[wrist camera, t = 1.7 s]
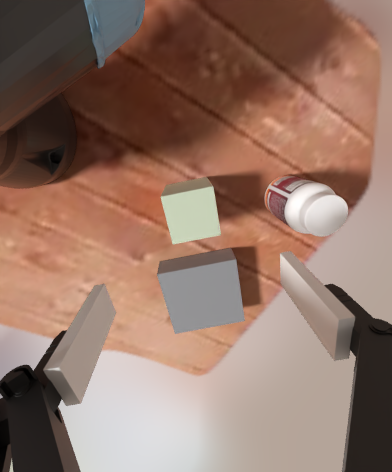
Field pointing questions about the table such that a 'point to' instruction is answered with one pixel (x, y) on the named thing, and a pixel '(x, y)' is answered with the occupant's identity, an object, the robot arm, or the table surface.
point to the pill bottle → (306, 205)
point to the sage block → (191, 210)
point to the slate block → (201, 290)
